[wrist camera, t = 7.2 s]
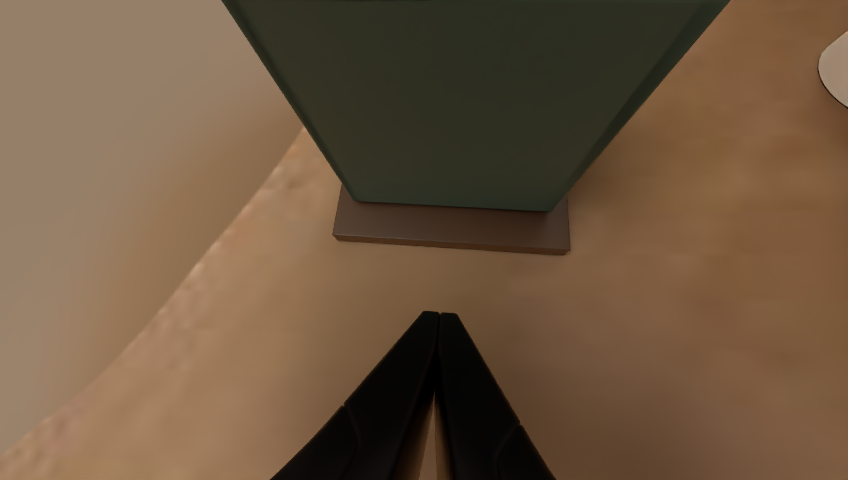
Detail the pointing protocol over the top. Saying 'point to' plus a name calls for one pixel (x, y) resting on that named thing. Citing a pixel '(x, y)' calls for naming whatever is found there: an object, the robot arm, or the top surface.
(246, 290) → the top surface
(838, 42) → the cylindrical container
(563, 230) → the shelf base
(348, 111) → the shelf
